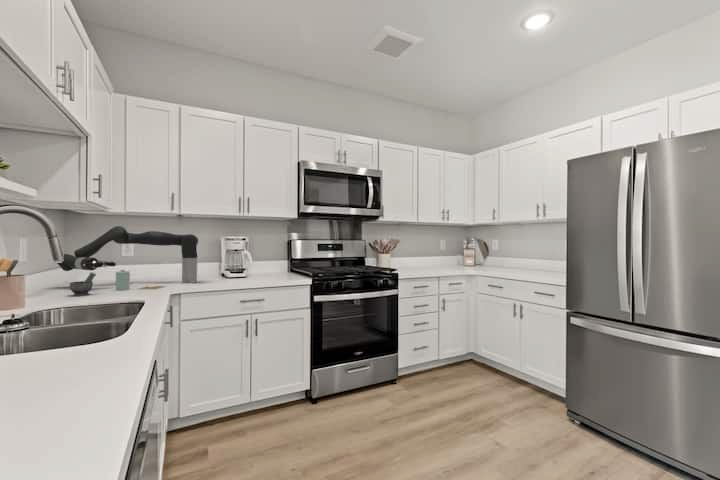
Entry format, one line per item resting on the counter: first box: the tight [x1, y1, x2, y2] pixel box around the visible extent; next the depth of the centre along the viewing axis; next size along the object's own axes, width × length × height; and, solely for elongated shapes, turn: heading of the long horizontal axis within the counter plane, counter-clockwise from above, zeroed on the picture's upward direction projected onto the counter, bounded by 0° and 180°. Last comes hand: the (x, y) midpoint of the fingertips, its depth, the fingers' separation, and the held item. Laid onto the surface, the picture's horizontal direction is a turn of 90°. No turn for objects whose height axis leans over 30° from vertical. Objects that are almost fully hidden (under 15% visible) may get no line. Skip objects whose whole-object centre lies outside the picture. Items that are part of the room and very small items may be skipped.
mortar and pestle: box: [69, 272, 97, 297], centre depth 183 cm, size 11×9×12 cm
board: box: [138, 285, 167, 290], centre depth 206 cm, size 13×11×1 cm
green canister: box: [115, 269, 131, 291], centre depth 197 cm, size 6×6×12 cm
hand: (108, 264), depth 201 cm, fingers open, 8 cm apart
